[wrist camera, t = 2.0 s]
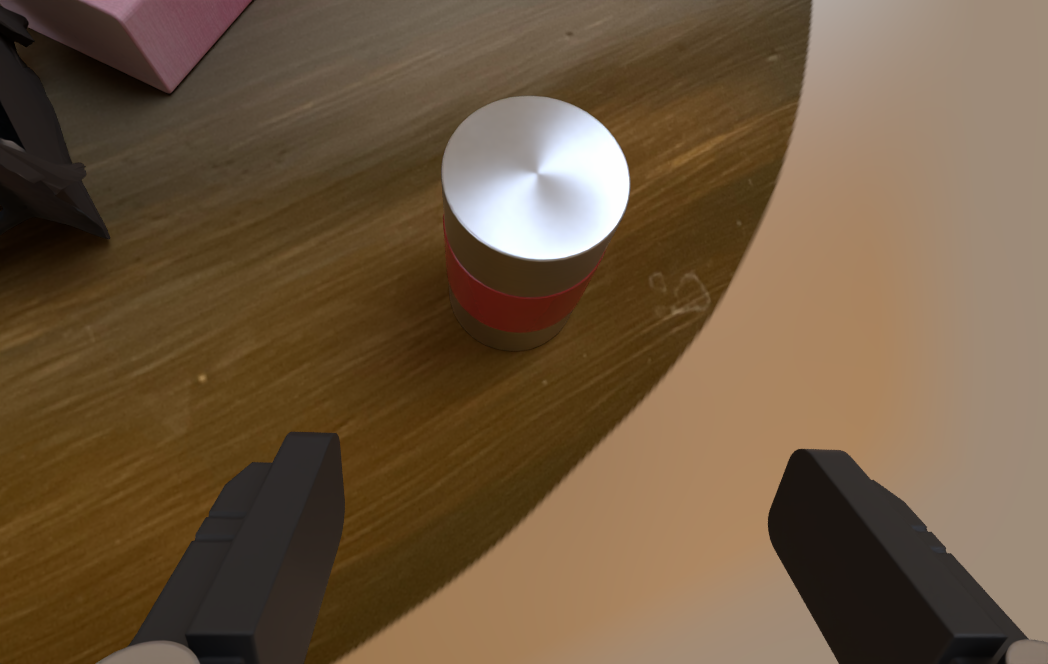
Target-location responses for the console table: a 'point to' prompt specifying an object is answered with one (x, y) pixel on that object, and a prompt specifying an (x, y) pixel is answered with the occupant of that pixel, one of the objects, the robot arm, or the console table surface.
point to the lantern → (35, 146)
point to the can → (527, 216)
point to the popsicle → (135, 32)
